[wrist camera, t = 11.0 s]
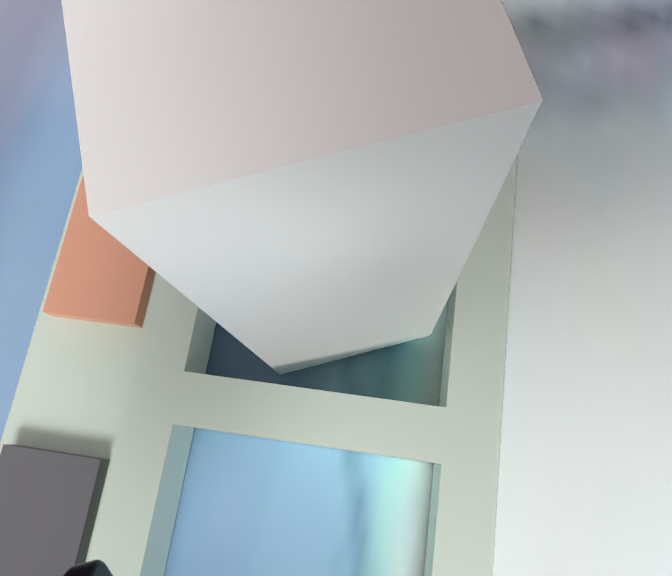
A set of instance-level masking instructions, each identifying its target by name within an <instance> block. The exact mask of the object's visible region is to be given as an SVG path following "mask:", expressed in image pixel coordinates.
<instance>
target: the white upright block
mask: <svg viewBox="0 0 672 576" xmlns="http://www.w3.org/2000/svg"><path fill="white" fill-rule="evenodd" d="M62 7H63V15H64V23H65V31H66V39H67V47H68V55H69V63H70V71H71V79H72V87H73V95H74V103H75V111H76V119H77V127H78V135H79V143H80V151H81V159H82V167H83V175H84V183H85V190H86V198H87V206H88V214H89V217H90V218H92V219H93V220H94V221H95V222H96V223H98V224H99V225H100V226H101V227H102V228H104V229H105V230H106V231H107V232H108V233H110V234H111V235H112V236H113V237H115V238H116V239H117V240H118V241H119V242H121V243H122V244H123V245H124V246H125V247H127V248H128V249H129V250H130V251H131V252H133V253H134V254H135V255H136V256H137V257H139V258H140V259H141V260H142V261H144V262H145V263H146V264H147V265H148V266H150V267H151V268H152V269H153V270H154V271H156V272H157V273H158V274H159V275H160V276H162V277H163V278H164V279H165V280H166V281H168V282H169V283H170V284H171V285H173V286H174V287H175V288H176V289H177V290H179V291H180V292H181V293H182V294H183V295H185V296H186V297H187V298H188V299H189V300H191V301H192V302H193V303H194V304H195V305H197V306H198V307H199V308H200V309H202V310H203V311H204V312H205V313H206V314H208V315H209V316H210V317H211V318H212V319H214V320H215V321H216V322H217V323H218V324H220V325H221V326H222V327H223V328H224V329H226V330H227V331H228V332H229V333H231V334H232V335H233V336H234V337H235V338H237V339H238V340H239V341H240V342H241V343H243V344H244V345H245V346H246V347H247V348H249V349H250V350H251V351H252V352H253V353H255V354H256V355H257V356H258V357H260V358H261V359H262V360H263V361H264V362H266V363H267V364H268V365H269V366H270V367H272V368H273V369H274V370H275V371H276V372H278V373H279V374H284V373H288V372H292V371H296V370H300V369H304V368H307V367H311V366H315V365H319V364H323V363H327V362H331V361H334V360H338V359H342V358H346V357H350V356H354V355H358V354H362V353H365V352H369V351H373V350H377V349H381V348H385V347H389V346H392V345H396V344H400V343H404V342H408V341H412V340H416V339H420V338H423V337H427V336H431V334H432V332H433V330H434V328H435V326H436V323H437V321H438V319H439V317H440V315H441V313H442V311H443V309H444V307H445V305H446V302H447V300H448V298H449V296H450V294H451V292H452V290H453V288H454V286H455V284H456V282H457V279H458V277H459V275H460V273H461V271H462V269H463V267H464V265H465V263H466V261H467V258H468V256H469V254H470V252H471V250H472V248H473V246H474V244H475V242H476V240H477V237H478V235H479V233H480V231H481V229H482V227H483V225H484V223H485V221H486V219H487V217H488V214H489V212H490V210H491V208H492V206H493V204H494V202H495V200H496V198H497V196H498V193H499V191H500V189H501V187H502V185H503V183H504V181H505V179H506V177H507V175H508V172H509V170H510V168H511V166H512V164H513V162H514V160H515V158H516V156H517V154H518V151H519V149H520V147H521V145H522V143H523V141H524V139H525V137H526V135H527V133H528V131H529V128H530V126H531V124H532V122H533V120H534V118H535V116H536V114H537V112H538V110H539V107H540V105H541V103H542V101H543V98H542V96H541V93H540V91H539V89H538V86H537V84H536V82H535V79H534V77H533V75H532V72H531V70H530V67H529V65H528V63H527V60H526V58H525V56H524V53H523V51H522V48H521V46H520V44H519V41H518V39H517V37H516V34H515V32H514V29H513V27H512V25H511V22H510V20H509V18H508V15H507V13H506V10H505V8H504V6H503V3H502V1H501V0H62Z"/></svg>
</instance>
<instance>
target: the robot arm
mask: <svg viewBox="0 0 672 576" xmlns="http://www.w3.org/2000/svg"><path fill="white" fill-rule="evenodd" d="M63 576H113V575H112V573H111V572H110V570H109V569H108V567H107V565H106V564H105V563H104V562H103V561H101V560H92V561H88V562H84V563H80V564H76V565H74V566H72V567H71V568H69V569H68V570H67V571H66V573H65V574H64V575H63Z"/></svg>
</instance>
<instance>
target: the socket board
mask: <svg viewBox="0 0 672 576" xmlns="http://www.w3.org/2000/svg"><path fill="white" fill-rule="evenodd" d="M516 170H517V156H516V158H515V160H514V162H513V164H512V166H511V168H510V170H509V172H508V175H507V177H506V179H505V181H504V183H503V185H502V187H501V189H500V191H499V193H498V196H497V198H496V200H495V202H494V204H493V206H492V208H491V210H490V212H489V214H488V217H487V219H486V221H485V223H484V225H483V227H482V229H481V231H480V233H479V235H478V237H477V240H476V242H475V244H474V246H473V248H472V250H471V252H470V254H469V256H468V258H467V261H466V263H465V265H464V267H463V269H462V271H461V273H460V275H459V277H458V279H457V282H456V284H455V286H454V288H453V290H452V292H451V294H450V296H449V300H448V311H447V322H446V334H445V345H444V356H443V367H442V378H441V389H440V401H439V406H432V405H425V404H418V403H411V402H403V401H396V400H389V399H382V398H374V397H367V396H360V395H353V394H345V393H338V392H331V391H323V390H316V389H309V388H302V387H294V386H287V385H280V384H273V383H265V382H258V381H251V380H244V379H236V378H229V377H222V376H215V375H207V374H206V370H207V365H208V360H209V355H210V350H211V345H212V341H213V336H214V331H215V326H216V321H215V320H214V319H212V318H211V317H210V316H209V315H208V314H206V313H205V312H204V311H203V310H202V309H200V308H199V307H198V306H197V305H195V304H194V303H193V302H192V301H191V300H189V299H188V298H187V297H186V296H185V295H183V294H182V293H181V292H180V291H179V290H177V289H176V288H175V287H174V286H173V285H171V284H170V283H169V282H168V281H166V280H165V279H164V278H163V277H162V276H160V275H159V274H158V273H157V272H156V271H154V270H153V269H152V268H151V267H150V266H148V265H147V264H146V263H145V262H144V261H142V260H141V259H140V258H139V257H137V256H136V255H135V254H134V253H133V252H131V251H130V250H129V249H128V248H127V247H125V246H124V245H123V244H122V243H121V242H119V241H118V240H117V239H116V238H115V237H113V236H112V235H111V234H110V233H108V232H107V231H106V230H105V229H104V228H102V227H101V226H100V225H99V224H98V223H96V222H95V221H94V220H93V219H92V218H90V217H89V214H88V206H87V198H86V190H85V183H84V175H83V167H82V170H81V174H80V177H79V180H78V184H77V187H76V190H75V194H74V197H73V200H72V204H71V207H70V211H69V214H68V217H67V221H66V224H65V227H64V231H63V234H62V237H61V241H60V244H59V248H58V251H57V254H56V258H55V261H54V264H53V268H52V271H51V274H50V278H49V281H48V285H47V288H46V291H45V295H44V298H43V301H42V305H41V308H40V311H39V315H38V318H37V322H36V325H35V328H34V332H33V335H32V338H31V342H30V345H29V348H28V352H27V355H26V359H25V362H24V365H23V369H22V372H21V375H20V379H19V382H18V386H17V389H16V392H15V396H14V399H13V402H12V406H11V409H10V412H9V416H8V419H7V423H6V426H5V429H4V433H3V436H2V439H1V443H0V576H63V575H64V574H65V573H66V571H67V570H68V569H69V568H71V567H72V566H74V565H76V564H80V563H84V562H88V561H92V560H101V561H103V562H104V563H105V564H106V565H107V567H108V569H109V570H110V572H111V573H112V575H113V576H164V573H165V569H166V564H167V559H168V554H169V549H170V544H171V539H172V535H173V530H174V525H175V520H176V515H177V510H178V505H179V501H180V496H181V491H182V486H183V481H184V476H185V471H186V467H187V462H188V457H189V452H190V447H191V442H192V438H193V433H194V428H201V429H208V430H214V431H221V432H228V433H235V434H241V435H248V436H255V437H261V438H268V439H275V440H282V441H288V442H295V443H302V444H309V445H315V446H322V447H329V448H336V449H342V450H349V451H356V452H363V453H369V454H376V455H383V456H390V457H396V458H403V459H410V460H417V461H423V462H430V463H434V467H433V479H432V490H431V501H430V512H429V523H428V534H427V546H426V557H425V568H424V576H493V562H494V545H495V527H496V510H497V493H498V476H499V459H500V442H501V425H502V408H503V391H504V374H505V357H506V340H507V323H508V306H509V289H510V272H511V255H512V238H513V221H514V204H515V187H516Z"/></svg>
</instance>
